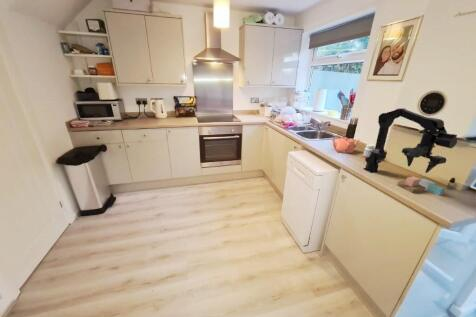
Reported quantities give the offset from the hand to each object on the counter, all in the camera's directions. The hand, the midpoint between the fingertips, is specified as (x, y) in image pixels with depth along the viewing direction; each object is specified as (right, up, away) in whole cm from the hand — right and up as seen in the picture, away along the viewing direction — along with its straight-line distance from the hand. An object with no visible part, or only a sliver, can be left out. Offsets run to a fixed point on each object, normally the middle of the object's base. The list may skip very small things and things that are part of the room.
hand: (417, 169), depth 113 cm
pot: (-7, +13, +67) cm, 69 cm away
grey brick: (+10, -11, +6) cm, 16 cm away
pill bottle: (+3, +6, +50) cm, 50 cm away
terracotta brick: (0, -9, +3) cm, 10 cm away
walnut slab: (-1, -12, +4) cm, 13 cm away
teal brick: (+10, -13, 0) cm, 17 cm away
